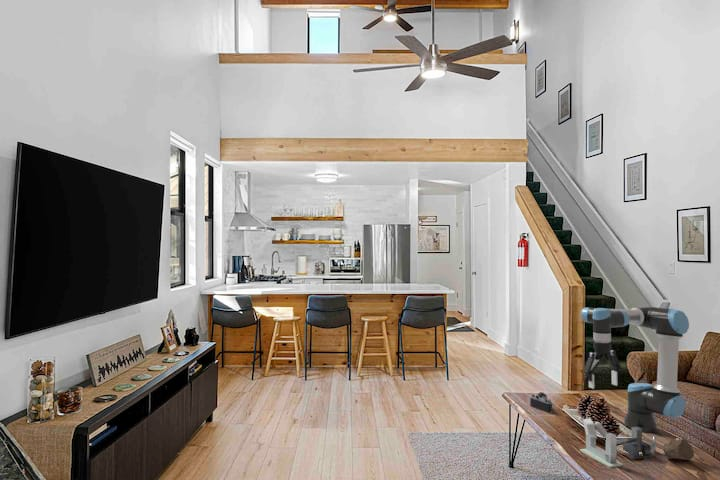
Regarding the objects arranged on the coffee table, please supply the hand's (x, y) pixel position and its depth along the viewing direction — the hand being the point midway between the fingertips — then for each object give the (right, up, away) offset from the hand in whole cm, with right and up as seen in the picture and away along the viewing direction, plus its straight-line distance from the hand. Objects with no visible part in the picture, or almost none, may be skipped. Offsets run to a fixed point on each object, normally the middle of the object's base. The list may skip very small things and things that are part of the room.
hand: (603, 386), depth 224 cm
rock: (+28, -30, -10) cm, 42 cm away
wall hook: (+5, -31, +13) cm, 34 cm away
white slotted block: (-6, -29, -9) cm, 31 cm away
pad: (-6, -30, -9) cm, 32 cm away
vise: (+12, -30, -5) cm, 33 cm away
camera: (-6, -32, +57) cm, 66 cm away
